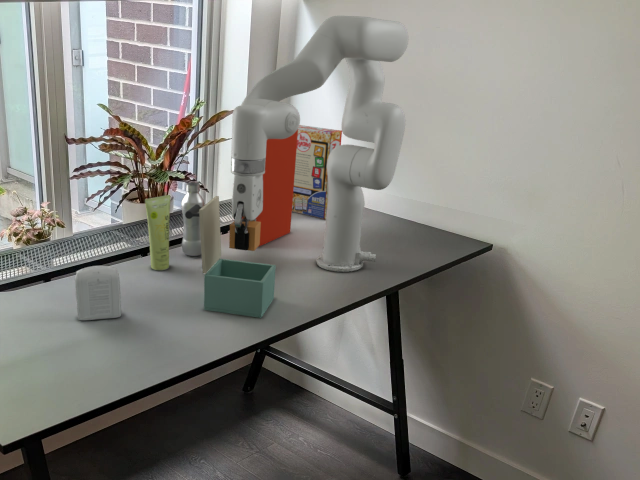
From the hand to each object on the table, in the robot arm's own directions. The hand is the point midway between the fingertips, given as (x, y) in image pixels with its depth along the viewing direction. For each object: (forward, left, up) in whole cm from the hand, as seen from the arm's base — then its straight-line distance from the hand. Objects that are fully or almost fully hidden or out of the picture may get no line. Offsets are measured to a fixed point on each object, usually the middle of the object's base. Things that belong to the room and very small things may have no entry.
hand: (244, 244), depth 169 cm
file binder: (+1, -52, -15) cm, 54 cm away
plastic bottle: (+19, -33, -15) cm, 41 cm away
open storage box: (+1, 0, -15) cm, 15 cm away
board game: (-9, -81, -15) cm, 83 cm away
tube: (+26, -21, -15) cm, 37 cm away
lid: (+8, -1, +2) cm, 8 cm away
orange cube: (0, 0, 0) cm, 0 cm away
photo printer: (+32, +13, -15) cm, 38 cm away
